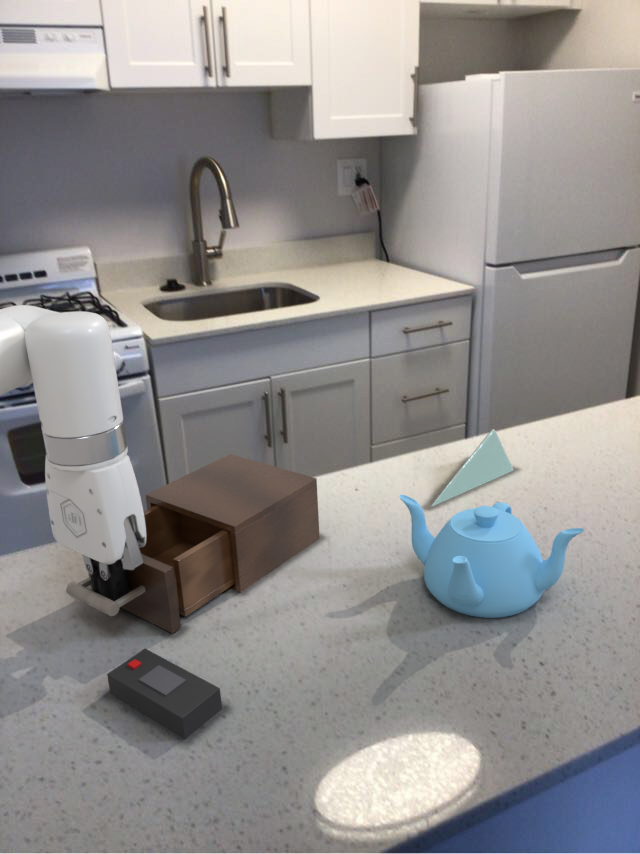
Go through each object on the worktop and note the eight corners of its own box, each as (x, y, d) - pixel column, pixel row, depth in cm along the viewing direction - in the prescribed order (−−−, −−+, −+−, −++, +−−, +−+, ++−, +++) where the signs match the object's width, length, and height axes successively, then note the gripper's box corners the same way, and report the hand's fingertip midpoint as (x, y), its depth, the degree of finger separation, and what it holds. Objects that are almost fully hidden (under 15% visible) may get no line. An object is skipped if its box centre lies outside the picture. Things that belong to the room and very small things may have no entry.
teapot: (511, 550, 92) (515, 473, 88) (583, 619, 78) (591, 531, 75) (398, 572, 89) (397, 493, 85) (453, 648, 75) (455, 557, 71)
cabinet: (241, 598, 85) (234, 526, 82) (154, 561, 93) (145, 494, 90) (320, 543, 96) (316, 478, 92) (235, 514, 104) (230, 453, 101)
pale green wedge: (478, 524, 98) (528, 454, 110) (438, 494, 99) (492, 427, 111) (452, 556, 103) (502, 486, 115) (414, 527, 105) (468, 460, 117)
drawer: (135, 659, 74) (124, 595, 72) (54, 614, 82) (42, 555, 79) (259, 574, 88) (254, 518, 85) (180, 543, 95) (173, 490, 93)
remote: (186, 746, 64) (181, 715, 63) (111, 700, 70) (106, 671, 69) (223, 715, 68) (219, 685, 66) (148, 673, 73) (144, 645, 72)
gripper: (7, 439, 74) (40, 598, 81) (103, 472, 66) (131, 647, 72) (72, 417, 80) (98, 567, 86) (168, 444, 71) (189, 609, 78)
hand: (113, 603), depth 79 cm, fingers closed
